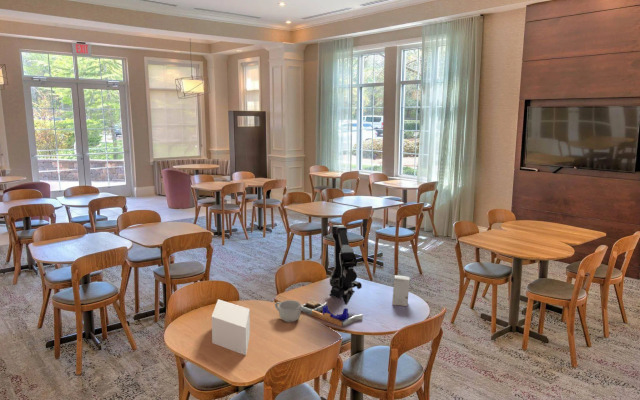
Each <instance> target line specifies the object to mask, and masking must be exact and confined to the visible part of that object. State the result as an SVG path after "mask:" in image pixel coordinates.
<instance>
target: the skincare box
mask: <svg viewBox="0 0 640 400" xmlns="http://www.w3.org/2000/svg"><path fill="white" fill-rule="evenodd" d="M393 278H394V279H393V290H392V305H393V306H403V307H408V303H409V292H410V280H411V279H410V278H411V277H410V276H408V275H407V276H406V275H398V274H397V275H396V274H395V275H394V277H393Z"/></svg>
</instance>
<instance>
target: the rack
mask: <svg viewBox="0 0 640 400" xmlns="http://www.w3.org/2000/svg"><path fill="white" fill-rule="evenodd" d="M325 305H327V306H328V301H325V302H324V303H323V304H322V303H321V302H317V301H315V300H309V301H306V302H305V303H304V304H301V313H305V314H307V315H310V316H313V317H315V318H318V319H320V320H323V321H325V322H328V323H331V324H333V325H337V326H339V327H341V328H344V327H346V326H349V325H350V324H352V323H354V322H358V321H363V314H355V315H353V316H351V317H349V318H348V319H346V320H344V321H341V320H338V319H335V318H333V317H331V314H328V313H326V312H325V313H324V314H323V307H324V306H325ZM321 312H322V313H321Z"/></svg>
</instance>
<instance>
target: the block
mask: <svg viewBox="0 0 640 400" xmlns="http://www.w3.org/2000/svg"><path fill="white" fill-rule="evenodd" d="M250 312H251V311H250V308H248V307H245V306H241V305H237V304H235V303H232V302H228V301H225V300H222V299H217V301H216V304H215V306H214V310H213V311H212V314H211V342H212V344H213V345H217V346H220V347H223V348H225V349H227V350H231V351H233V352H235V353H239V354H241V355H244V356H247V352H248V347H249V341H250V335H251V322H250V321H251V320H250V317H251V315H250V314H251V313H250Z"/></svg>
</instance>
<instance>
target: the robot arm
mask: <svg viewBox="0 0 640 400" xmlns="http://www.w3.org/2000/svg"><path fill="white" fill-rule="evenodd" d="M329 231H330V234H331V235H330V236H331V238H332V239H333V242H334V244H333V245H334V255H333V256H334V267H333V269H332V270H331V275H330V276H329V277H330V278H329V285H330V286H331V289H330V293H329V296H332V297H335V298H337V299H338V298H339V299H340V298H342V300H343V304H344V305H345V306H347V305H348V304H349V302H350V300H351V299H352V296H353V295H354V293H355V290H353V289H354V288H357V290H359V289H362V285H363V284H362V283H361V282H360V281H357V277H358V275H357V272H356V271H355V269H354V267H356V268H357V264H358V259H357V255H356V253H355V251H354V248H352V247H351V246H350V243H349V239H348V238H349V237H348V226H345V224H334V225H333V224H332V226H331V227H330V229H329Z"/></svg>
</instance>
